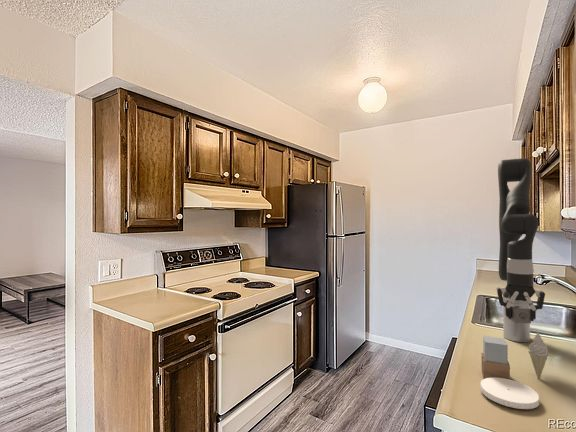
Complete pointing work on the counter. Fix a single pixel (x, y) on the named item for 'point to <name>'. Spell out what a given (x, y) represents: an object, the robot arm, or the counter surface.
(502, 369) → the tower base
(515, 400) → the plastic lid
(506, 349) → the tower top
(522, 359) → the counter surface
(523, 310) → the dice cube
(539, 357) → the ice cream cone
